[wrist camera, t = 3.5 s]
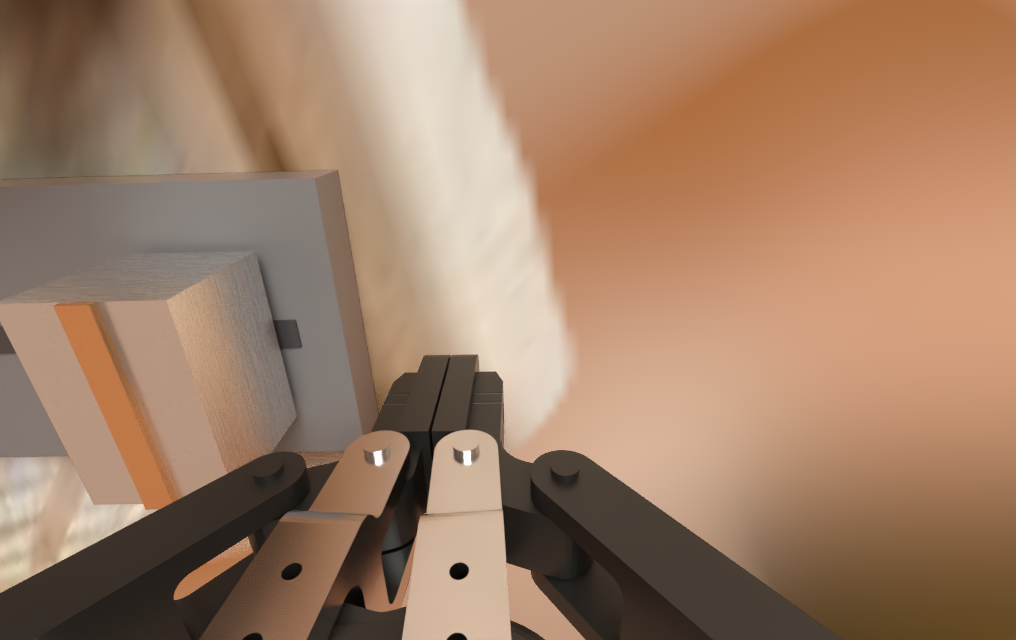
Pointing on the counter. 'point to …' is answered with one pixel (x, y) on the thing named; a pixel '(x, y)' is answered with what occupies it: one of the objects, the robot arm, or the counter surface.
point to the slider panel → (202, 228)
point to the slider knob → (155, 370)
